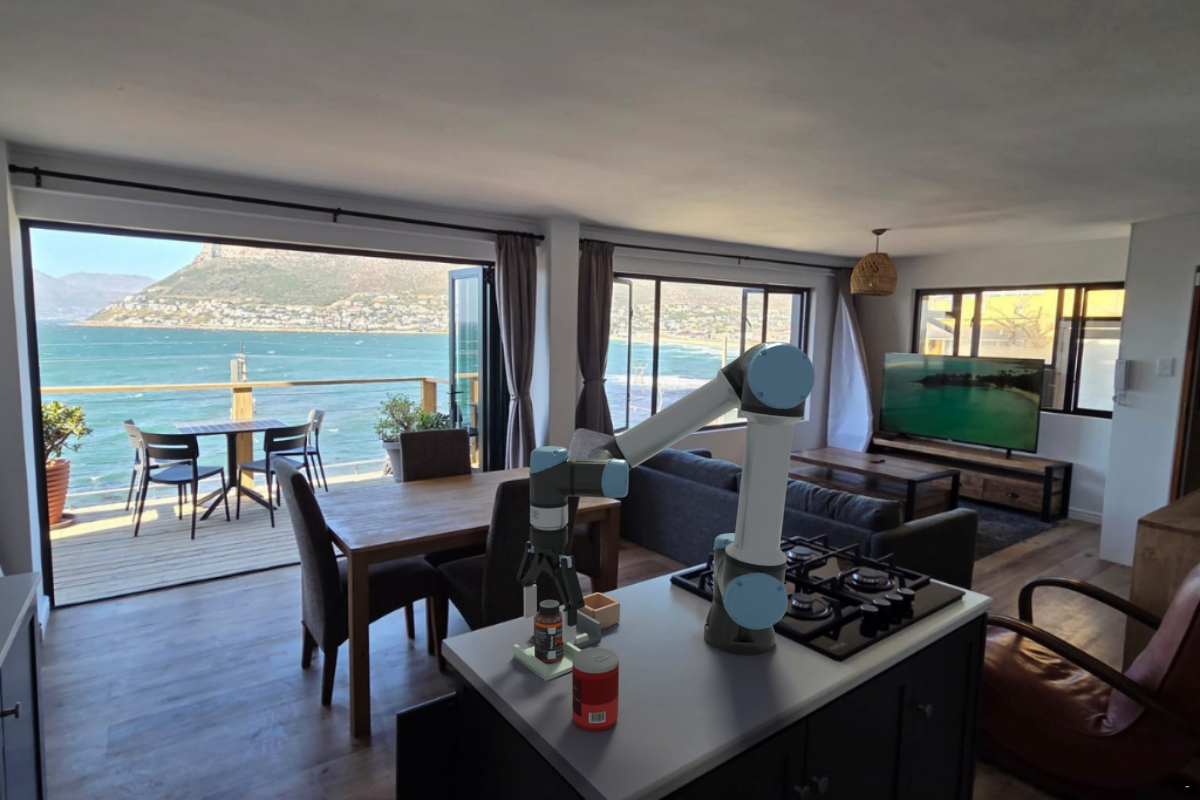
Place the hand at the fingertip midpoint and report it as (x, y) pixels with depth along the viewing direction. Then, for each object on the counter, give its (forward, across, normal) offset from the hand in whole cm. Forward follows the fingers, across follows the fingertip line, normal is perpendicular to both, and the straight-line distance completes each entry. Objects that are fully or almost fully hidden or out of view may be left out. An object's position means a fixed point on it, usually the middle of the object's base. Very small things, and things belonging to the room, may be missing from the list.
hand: (548, 627), depth 127 cm
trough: (+7, 0, 0) cm, 7 cm away
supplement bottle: (+6, 0, 0) cm, 6 cm away
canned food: (+7, +21, -5) cm, 23 cm away
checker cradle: (+7, -6, +9) cm, 13 cm away
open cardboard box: (+7, -8, +19) cm, 22 cm away
